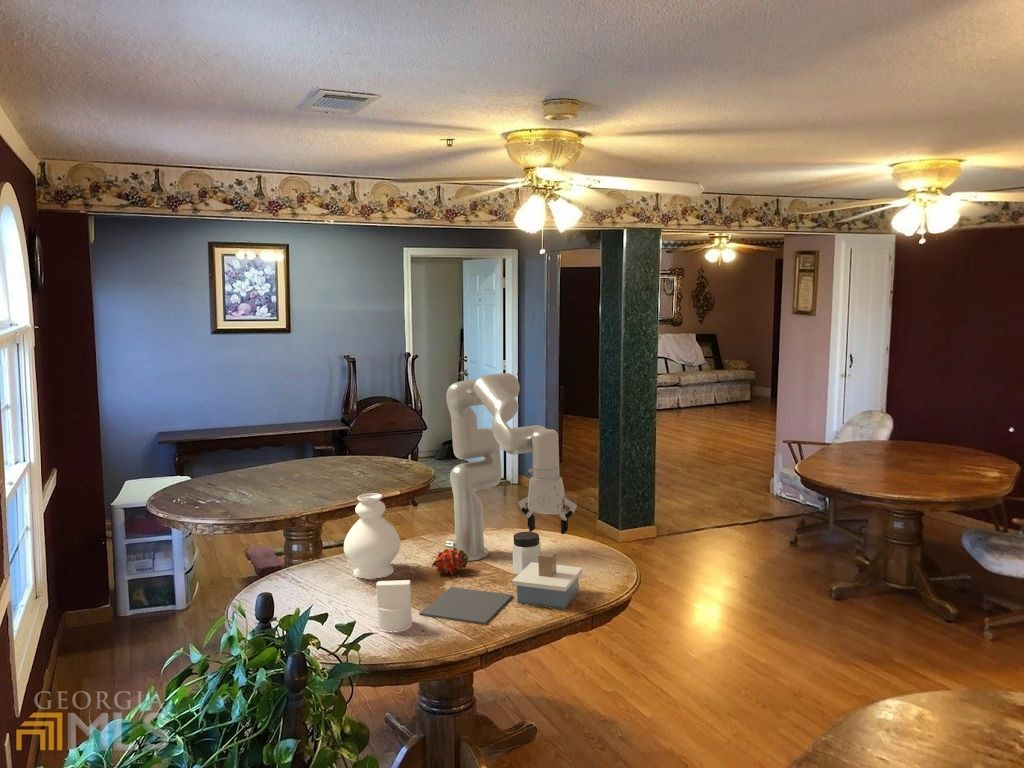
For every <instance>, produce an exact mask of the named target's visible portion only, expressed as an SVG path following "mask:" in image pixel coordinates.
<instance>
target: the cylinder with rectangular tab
mask: <svg viewBox="0 0 1024 768" xmlns="http://www.w3.org/2000/svg"><path fill="white" fill-rule="evenodd" d="M375 585H376V602H377V603H376V604H377V619H378V620H377V623H378V625H377V626H379V627H378V629H379V628H380V629H383V630H386V631H392V632H394V631H397V632H396V633H399V632H398V631H402V632H404V631H403V630H405V631H407V630H409V629H410V628H411V627H412V626H413V619H412V618H413V615H412V594H411V580H410V579H407V580H406V579H404V580H403V579H402V580H380V581H379V580H378V581H377V582H376V584H375ZM411 625H412V626H411ZM409 627H410V628H409ZM408 628H409V629H408ZM380 629H379V630H380ZM406 629H407V630H406Z"/></svg>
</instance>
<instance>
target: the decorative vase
mask: <svg viewBox="0 0 1024 768" xmlns="http://www.w3.org/2000/svg"><path fill="white" fill-rule="evenodd" d="M382 498H383V495H382V494H381V493H378V492H377V493H375V492H371V493H369V492H368V493H363V494H360V495H358V496H357V501H359V502H358V504H357V505H356V506H355V514H356V515H357V516H358V517H359V519H358V520H357V521H356V522H355V523H354V524H353V526H352V527H351V528H350V529H349V531H348V532H347V534H346V536H345V539H344V541H343V551H344V554H345V556H346V558H348V560H349V561H350V562H351V563H352V564H353V565H354V566H355V569H354V570H353V576H354V575H355V576H356V577H355V576H354V577H355V578H357V577H359V578H358V579H360V578H365V579H364V580H377V579H376V578H379V579H383V578H386V577H388V576H390V575H392V574H393V573H394V567H393V566H392V565H390V564H392V562H393V561H394V560H395V557H397V555H398V554H399V551H400V549H401V539H400V536H399V533H398V532H397V530H396V529H395V527H394V526H393V525H392V524H391V523H390V522H389V521H388V520H386V518H384V517H383V516H382V515H383V514H384V513H385V511H386V505H385V503H384V502H383V501H381V499H382ZM366 578H367V579H366ZM374 578H375V579H374Z"/></svg>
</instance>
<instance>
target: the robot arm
mask: <svg viewBox="0 0 1024 768" xmlns="http://www.w3.org/2000/svg"><path fill="white" fill-rule="evenodd" d="M520 387H521V386H520V383H519V380H518V378H517V377H516V376H515V375H513V374H512V373H509V372H504V373H503V372H502V373H491V374H486V375H485V374H484V375H481V376H480V377H479V378H477V379H468V380H461V381H456V382H454V383H452V384H451V385H450V386H448V388H447V390H446V398H445V399H446V405H447V408H448V413H449V415H450V419H451V420H450V421H451V422H450V423H451V435H452V436H451V437H452V438H451V439H452V449H453V454H454V456H455V457H456V458H457V459H459V460H472V459H476V458H477V459H478V458H481V460H476V461H469V462H462V463H459V464H457V465H455V466H454V467H453V468H452V469H451V470H450V473H449V480H450V485H451V489H452V496H453V509H454V510H453V511H454V512H453V514H454V538H455V540H451V539H450V540H449V539H447V540H446V541H445V549H451V550H453V547H454V548H456V549H457V550H463V551H464V553H466V554H467V557H468V559H467V562H468V561H469V562H473V561H478V560H482V559H485V558H487V557H488V556H489V555H490V554H489V549H488V548H487V547H485V541H484V540H485V539H484V535H485V534H484V510H483V509H484V508H483V502H482V499H481V498H480V496H479V495H478V494H477V493H476V491H480V490H484V489H485V490H486V489H490V488H494V487H495V486H498V485H499V483H500V482H501V479H502V465H501V462H502V461H501V448H502V450H503V451H504V452H506V453H507V454H510V455H520V454H527V453H531V454H532V457H531V458H532V467H531V468H528V470H527V471H528V473H529V474H532V476H531V477H530V479H529V484H528V493H527V497H525V498H523V499H520V500H519V501H518V505H519V507H520V509H521V512H522V513H523V514H524V515H525V517H526V518H527V528H528V532H534V530H535V529H536V516H535V515H534V514H544V515H559V517H560V518H561V520H560V533H561V535H565V534H566V533H567V531H569V518H570V517H571V516H573V514H574V512H575V511H576V509H577V507H578V506H577V504H576V503H575V502H573V501H571V500H570V499H568V498H566V495H565V487H564V483H563V478H562V476H560V448H559V447H560V446H559V445H560V444H559V443H560V442H559V433H558V432H557V431H556V430H555V429H552V428H547V427H544V426H543V425H540V424H537V425H535V424H534V425H529V426H527V425H526V426H521V427H514V428H511V427H510V426H509V424H507V423H508V422H509V421H511V420H512V419H513V418H514V417H515V416H516V415H517V412H518V410H519V403H518V401H517V399H516V398H517V397H518V395H519V393H520ZM476 406H484V407H485V408H486V409H487V410H488V412H489V413H490V414H491V415H492V420H491V428H489V427H482V428H479V427H478V418H477V414H476V413H475V411H474V409H472V407H476ZM526 504H527V506H526ZM566 506H567V507H569V510H568V512H567V511H566Z"/></svg>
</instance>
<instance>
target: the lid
mask: <svg viewBox="0 0 1024 768" xmlns="http://www.w3.org/2000/svg"><path fill="white" fill-rule="evenodd" d="M538 561H539V563H535V562H531V563H530V564H529V565H528V566H527V567H526V568H525V569H524V570H523V571H522V572H520V573H519V574H518V575H517V574H516V576H515V577H514V578H513V579H512V580H511V586H512V585H513V586H517V585H518V586H526V587H534V588H542V589H550V590H558V591H566V590H567V589H568V588H569V587H570V586H571V584H572V583H573V582H574V581H575V580H576V579H577V577H578V576H579V577H580V575H581V574H582V573H583V567H580V566H579V567H578V566H571V565H570V566H569V565H563V564H562V565H560V564H557V553H556V552H554V551H553V552H552V551H544V550H543V551H541V554H540V555H539V556H538Z"/></svg>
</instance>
